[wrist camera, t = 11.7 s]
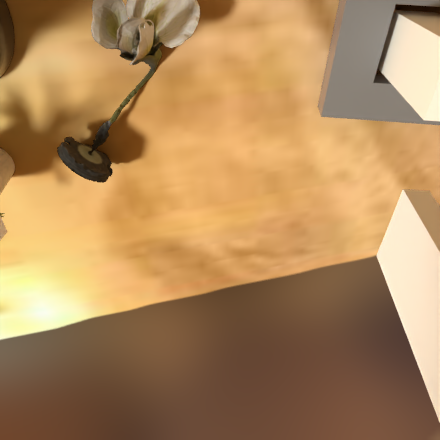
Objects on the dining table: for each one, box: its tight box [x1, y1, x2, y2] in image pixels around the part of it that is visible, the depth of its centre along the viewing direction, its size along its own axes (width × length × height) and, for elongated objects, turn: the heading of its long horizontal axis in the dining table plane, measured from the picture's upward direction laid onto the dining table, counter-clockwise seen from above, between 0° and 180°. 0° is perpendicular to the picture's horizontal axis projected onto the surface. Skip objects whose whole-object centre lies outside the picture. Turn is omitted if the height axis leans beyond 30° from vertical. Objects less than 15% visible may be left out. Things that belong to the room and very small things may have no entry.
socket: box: [318, 0, 440, 125], centre depth 34 cm, size 14×14×3 cm
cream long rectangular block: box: [378, 10, 440, 121], centre depth 29 cm, size 4×5×16 cm
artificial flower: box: [57, 0, 200, 182], centre depth 38 cm, size 9×22×10 cm, turn 142°
